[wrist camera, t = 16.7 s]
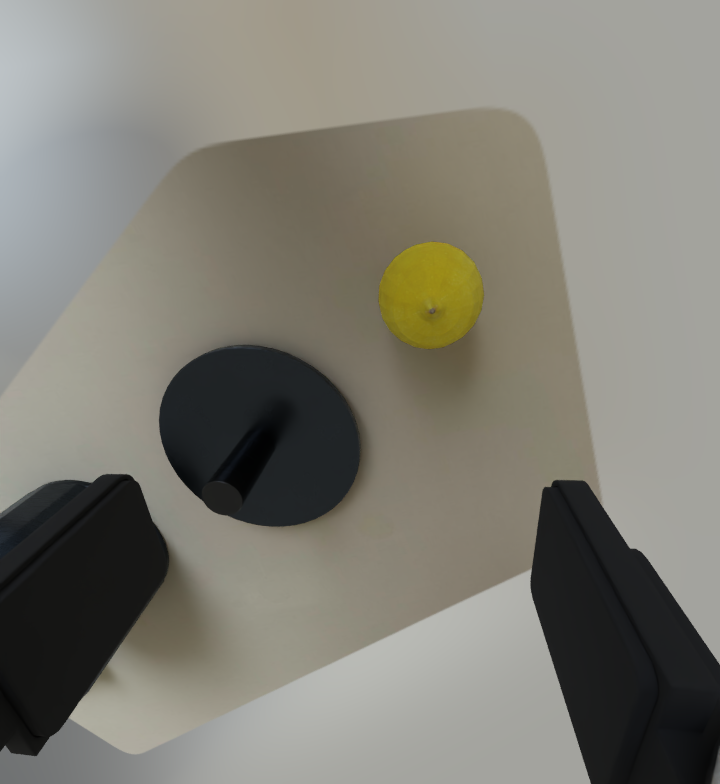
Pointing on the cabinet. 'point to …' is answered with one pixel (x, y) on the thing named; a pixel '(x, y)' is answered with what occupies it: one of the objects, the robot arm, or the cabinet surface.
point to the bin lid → (260, 435)
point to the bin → (36, 509)
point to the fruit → (431, 295)
